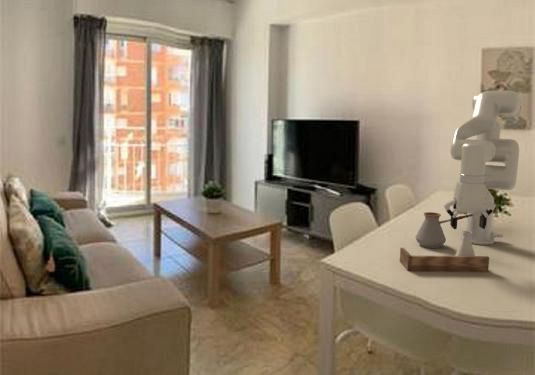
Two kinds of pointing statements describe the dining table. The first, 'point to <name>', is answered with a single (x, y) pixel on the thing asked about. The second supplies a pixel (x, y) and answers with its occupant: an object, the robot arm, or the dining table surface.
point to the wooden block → (444, 262)
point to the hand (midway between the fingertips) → (467, 228)
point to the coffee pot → (433, 230)
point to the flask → (466, 245)
